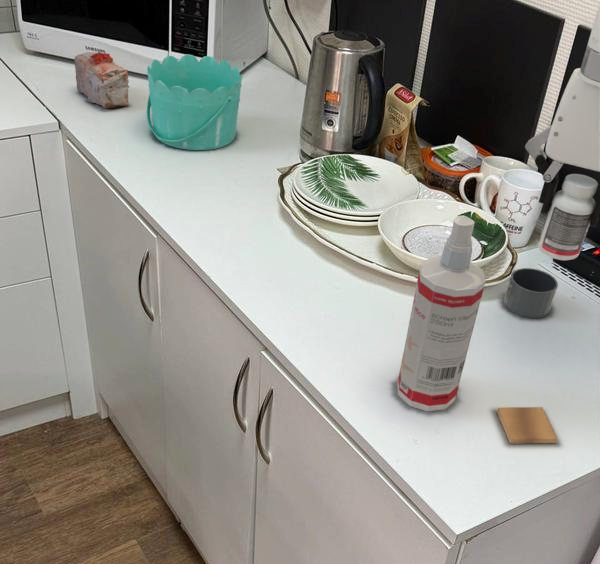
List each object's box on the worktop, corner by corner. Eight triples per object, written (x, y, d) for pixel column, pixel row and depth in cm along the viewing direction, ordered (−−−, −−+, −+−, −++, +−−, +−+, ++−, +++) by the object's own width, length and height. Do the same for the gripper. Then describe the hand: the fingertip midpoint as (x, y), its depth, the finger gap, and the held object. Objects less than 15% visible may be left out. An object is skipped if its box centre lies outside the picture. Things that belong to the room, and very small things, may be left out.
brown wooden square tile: (540, 411, 105) (542, 407, 104) (556, 443, 100) (558, 438, 99) (496, 411, 104) (497, 407, 103) (509, 443, 99) (511, 439, 99)
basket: (256, 144, 164) (259, 79, 155) (176, 160, 155) (174, 92, 147) (210, 111, 175) (210, 49, 167) (133, 124, 167) (129, 60, 158)
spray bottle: (466, 400, 105) (513, 228, 89) (423, 418, 102) (463, 242, 86) (428, 367, 110) (466, 199, 94) (385, 383, 107) (416, 211, 91)
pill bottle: (586, 261, 103) (612, 190, 96) (547, 262, 102) (571, 190, 95) (567, 240, 107) (590, 170, 100) (530, 241, 106) (551, 170, 99)
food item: (135, 107, 174) (132, 60, 168) (102, 113, 170) (98, 65, 163) (103, 87, 182) (99, 41, 175) (71, 93, 177) (66, 46, 171)
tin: (541, 293, 127) (549, 268, 124) (555, 318, 122) (564, 293, 119) (498, 292, 126) (505, 267, 124) (511, 317, 121) (518, 292, 118)
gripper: (699, 74, 89) (643, 222, 101) (547, 43, 94) (510, 187, 106) (694, 93, 84) (635, 247, 96) (533, 60, 89) (495, 209, 101)
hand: (570, 214), depth 101 cm, fingers closed on pill bottle, 5 cm apart
